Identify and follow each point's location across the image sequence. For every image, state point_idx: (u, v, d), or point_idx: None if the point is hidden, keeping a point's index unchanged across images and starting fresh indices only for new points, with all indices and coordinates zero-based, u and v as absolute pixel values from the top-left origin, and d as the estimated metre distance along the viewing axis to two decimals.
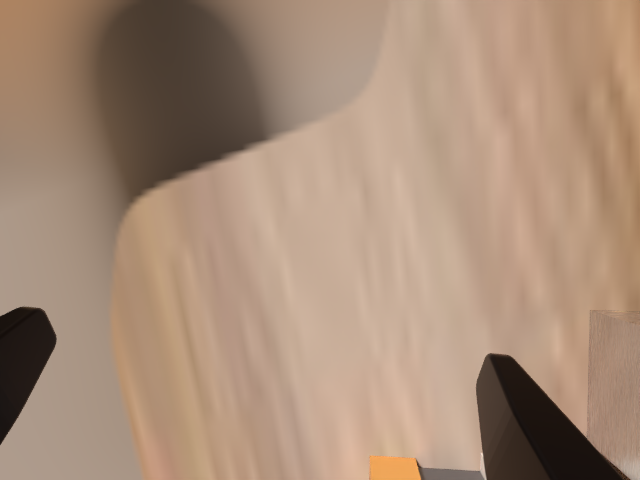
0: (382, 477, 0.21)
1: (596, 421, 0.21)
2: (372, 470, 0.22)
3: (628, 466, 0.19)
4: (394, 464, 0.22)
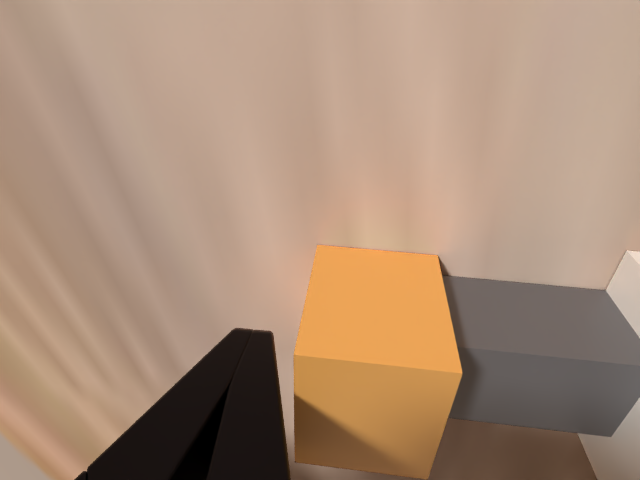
0: (336, 314, 0.07)
1: None
2: (312, 289, 0.08)
3: None
4: (378, 274, 0.08)
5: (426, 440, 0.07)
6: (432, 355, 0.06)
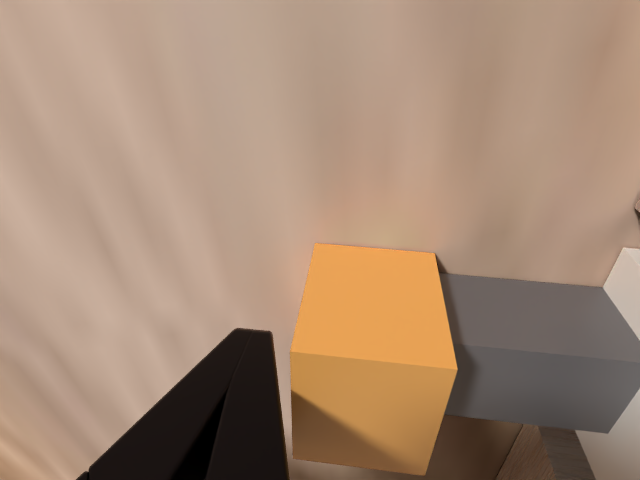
0: (332, 311, 0.07)
1: None
2: (309, 287, 0.08)
3: None
4: (375, 271, 0.08)
5: (422, 436, 0.07)
6: (427, 352, 0.06)
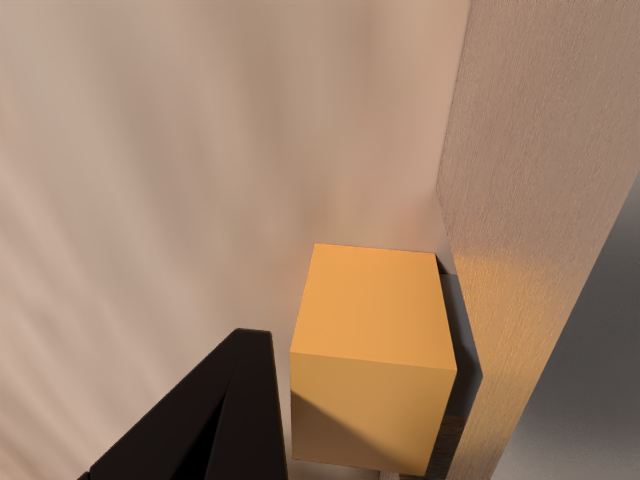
0: (332, 312, 0.07)
1: (457, 126, 0.06)
2: (309, 287, 0.08)
3: (475, 276, 0.05)
4: (374, 272, 0.08)
5: (422, 437, 0.07)
6: (427, 353, 0.06)
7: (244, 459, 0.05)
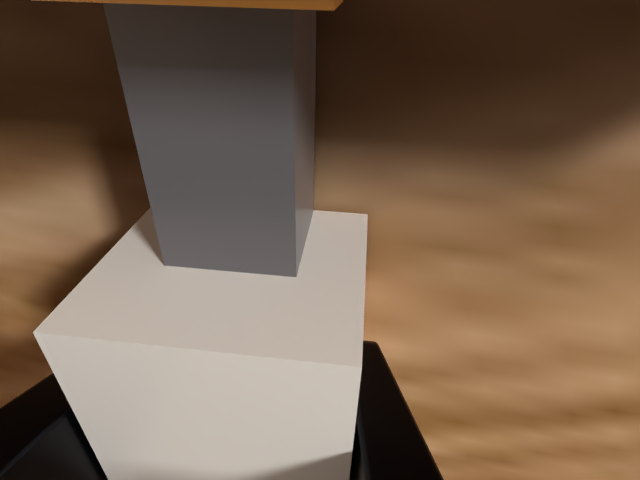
0: None
1: None
2: None
3: None
4: None
5: None
6: None
7: None
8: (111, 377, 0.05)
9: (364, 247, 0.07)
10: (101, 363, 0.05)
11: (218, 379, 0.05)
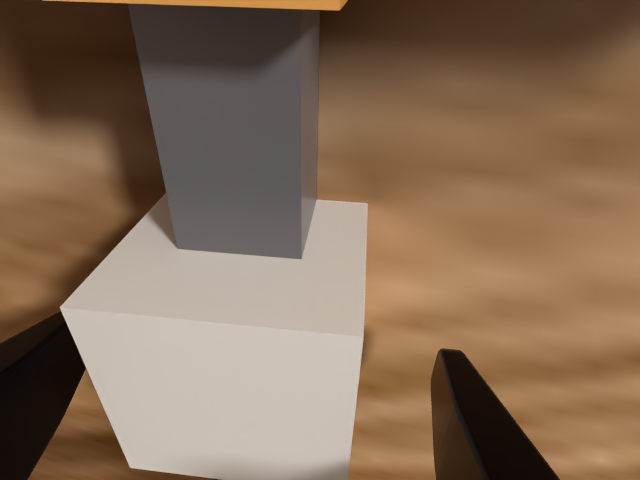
0: None
1: None
2: None
3: None
4: None
5: None
6: None
7: None
8: (131, 350, 0.06)
9: (364, 232, 0.07)
10: (122, 336, 0.06)
11: (231, 350, 0.06)
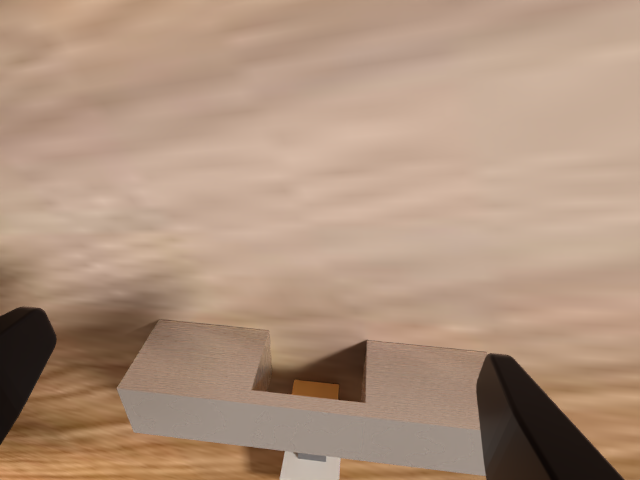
0: None
1: (391, 352, 0.24)
2: None
3: (375, 387, 0.22)
4: None
5: None
6: None
7: None
8: None
9: None
10: None
11: None
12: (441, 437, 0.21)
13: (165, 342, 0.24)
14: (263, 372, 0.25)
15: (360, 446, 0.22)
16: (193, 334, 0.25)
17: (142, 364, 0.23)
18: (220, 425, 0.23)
